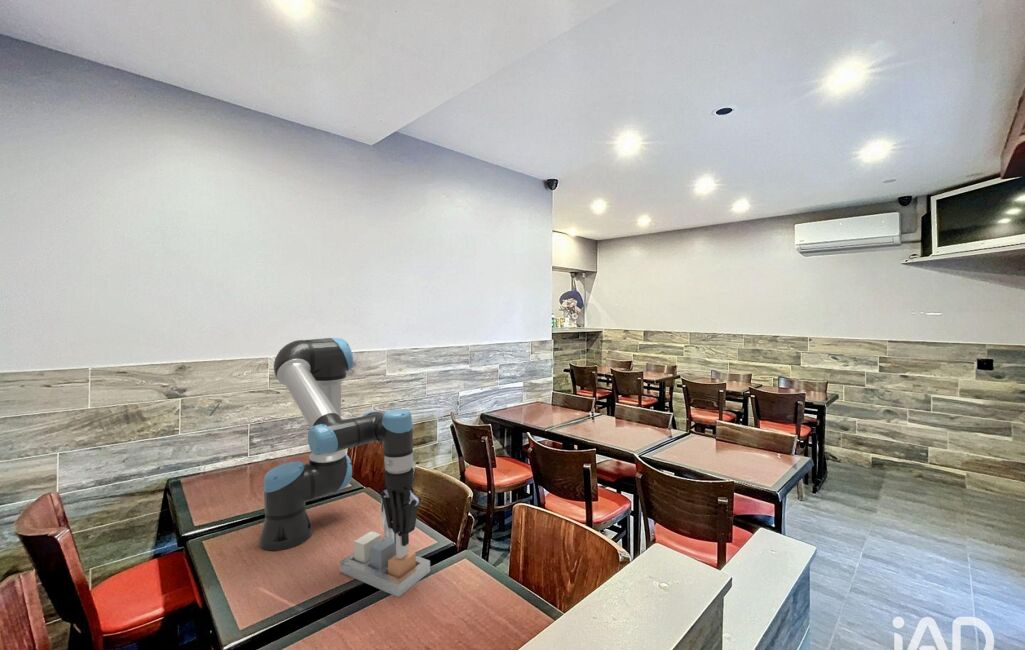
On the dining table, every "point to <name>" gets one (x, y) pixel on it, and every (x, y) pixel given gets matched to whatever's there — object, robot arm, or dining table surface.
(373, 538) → the cream block
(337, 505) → the dining table surface
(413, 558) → the orange block
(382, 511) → the beer glass
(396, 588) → the grey tray
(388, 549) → the slate key
